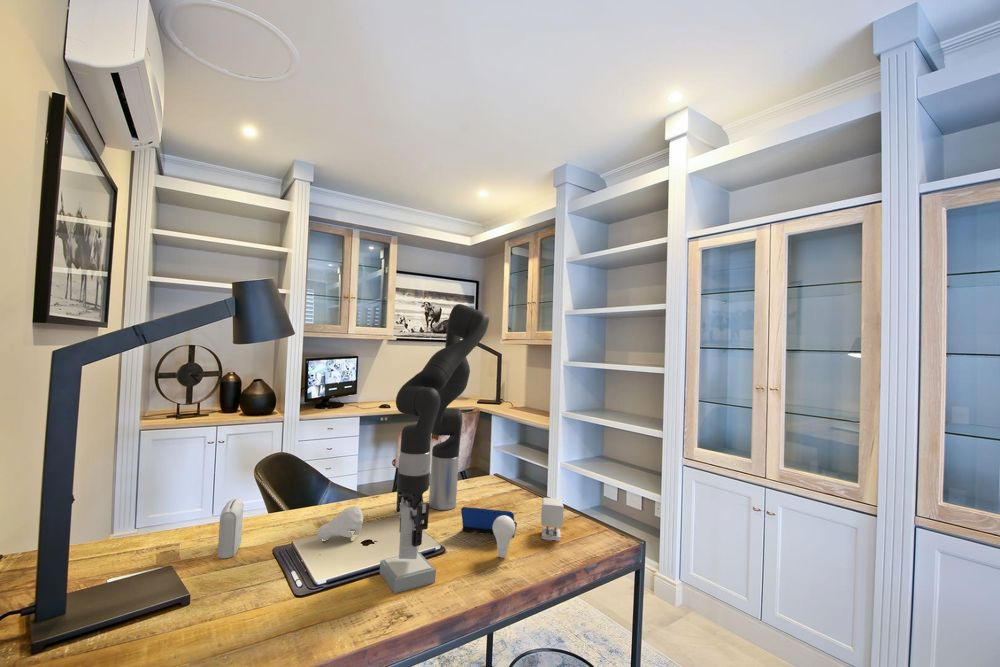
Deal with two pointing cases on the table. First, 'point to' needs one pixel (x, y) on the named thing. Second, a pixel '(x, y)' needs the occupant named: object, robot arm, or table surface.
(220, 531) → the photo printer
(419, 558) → the plinth
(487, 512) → the handheld game console
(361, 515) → the white rounded figure
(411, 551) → the skincare box
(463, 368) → the robot arm
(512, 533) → the lightbulb
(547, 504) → the white block on posts
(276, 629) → the table surface
